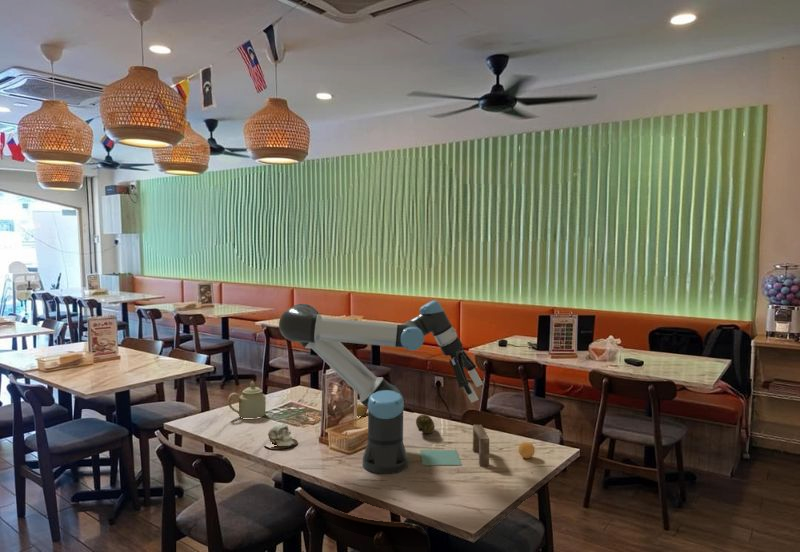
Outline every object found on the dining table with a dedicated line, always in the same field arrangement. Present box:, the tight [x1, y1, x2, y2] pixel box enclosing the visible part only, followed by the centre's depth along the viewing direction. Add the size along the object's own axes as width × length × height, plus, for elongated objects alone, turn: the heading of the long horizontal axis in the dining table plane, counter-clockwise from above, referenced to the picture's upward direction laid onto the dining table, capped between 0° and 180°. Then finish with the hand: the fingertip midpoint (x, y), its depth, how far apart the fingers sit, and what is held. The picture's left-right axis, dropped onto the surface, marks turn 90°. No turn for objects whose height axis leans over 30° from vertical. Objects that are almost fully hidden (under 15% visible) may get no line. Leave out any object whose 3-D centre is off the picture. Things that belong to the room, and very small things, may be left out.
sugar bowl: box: [227, 380, 267, 419], centre depth 223 cm, size 15×11×15 cm
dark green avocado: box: [415, 414, 436, 434], centre depth 206 cm, size 8×13×8 cm, turn 152°
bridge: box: [472, 424, 490, 467], centre depth 181 cm, size 3×14×9 cm, turn 2°
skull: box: [267, 422, 298, 450], centre depth 192 cm, size 12×10×10 cm
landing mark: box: [419, 449, 463, 466], centre depth 181 cm, size 13×13×1 cm
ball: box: [518, 441, 536, 459], centre depth 182 cm, size 6×6×6 cm
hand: (477, 393), depth 187 cm, fingers open, 13 cm apart
